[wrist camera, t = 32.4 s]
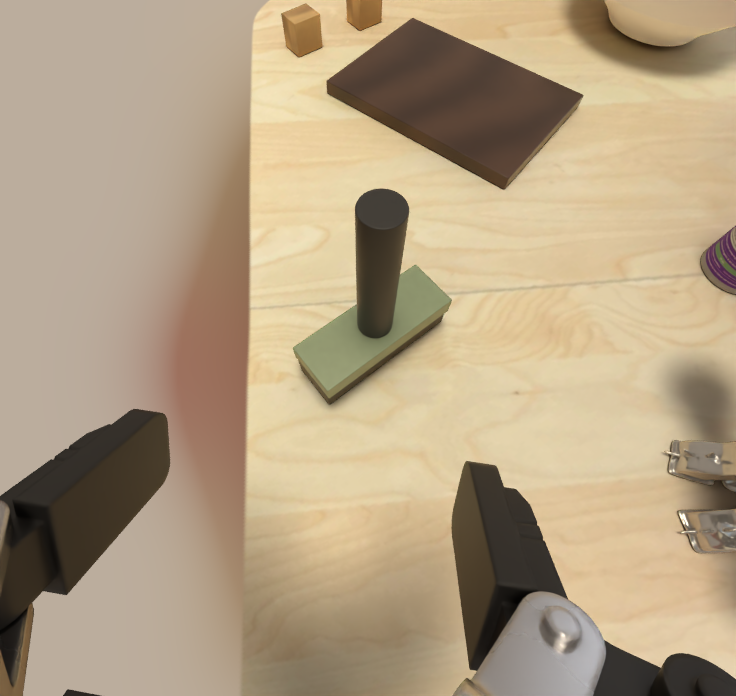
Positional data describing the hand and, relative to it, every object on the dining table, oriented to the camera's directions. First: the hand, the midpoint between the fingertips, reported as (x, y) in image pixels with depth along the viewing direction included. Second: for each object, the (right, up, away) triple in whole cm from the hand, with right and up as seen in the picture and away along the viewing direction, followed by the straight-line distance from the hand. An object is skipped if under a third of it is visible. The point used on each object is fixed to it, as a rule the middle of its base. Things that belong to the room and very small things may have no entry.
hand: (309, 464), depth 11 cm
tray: (+10, +27, +29) cm, 41 cm away
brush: (+2, +3, +17) cm, 18 cm away
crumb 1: (-4, +35, +30) cm, 46 cm away
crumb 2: (+2, +39, +32) cm, 51 cm away
